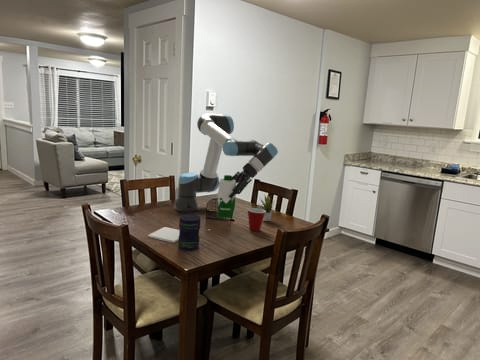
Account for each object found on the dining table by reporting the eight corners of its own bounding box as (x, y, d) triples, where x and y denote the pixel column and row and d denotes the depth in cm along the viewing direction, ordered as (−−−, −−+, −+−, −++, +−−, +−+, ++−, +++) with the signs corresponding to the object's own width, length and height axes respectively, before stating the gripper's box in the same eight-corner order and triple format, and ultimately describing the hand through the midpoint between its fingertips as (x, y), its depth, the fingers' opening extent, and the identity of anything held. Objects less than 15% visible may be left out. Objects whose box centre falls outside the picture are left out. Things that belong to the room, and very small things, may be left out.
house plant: (249, 216, 223) (251, 191, 220) (269, 216, 227) (272, 192, 224) (257, 224, 209) (260, 197, 206) (278, 223, 214) (281, 197, 211)
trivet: (164, 228, 188) (164, 226, 188) (189, 234, 183) (189, 232, 183) (148, 236, 174) (148, 235, 174) (174, 242, 169) (174, 241, 169)
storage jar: (192, 242, 172) (194, 213, 170) (202, 249, 165) (204, 218, 162) (174, 245, 166) (175, 215, 164) (184, 252, 159) (185, 221, 156)
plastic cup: (266, 229, 202) (268, 209, 199) (260, 234, 192) (262, 213, 189) (249, 225, 205) (251, 205, 203) (242, 230, 196) (244, 209, 193)
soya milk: (234, 213, 181) (237, 175, 178) (234, 218, 172) (236, 178, 169) (217, 212, 181) (219, 174, 178) (216, 217, 172) (218, 177, 169)
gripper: (266, 177, 169) (233, 210, 166) (248, 168, 188) (218, 198, 185) (258, 166, 166) (224, 199, 163) (240, 159, 185) (209, 188, 181)
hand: (220, 199), depth 174 cm, fingers closed on soya milk, 8 cm apart
